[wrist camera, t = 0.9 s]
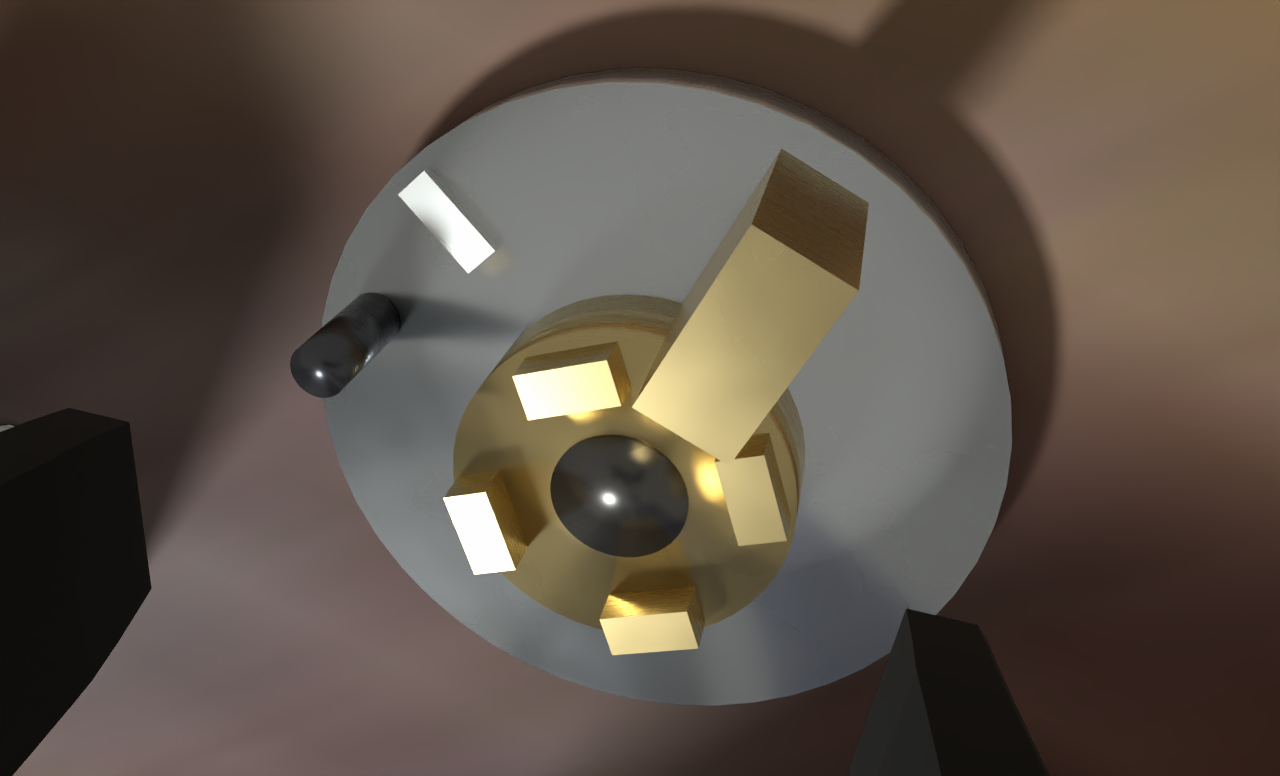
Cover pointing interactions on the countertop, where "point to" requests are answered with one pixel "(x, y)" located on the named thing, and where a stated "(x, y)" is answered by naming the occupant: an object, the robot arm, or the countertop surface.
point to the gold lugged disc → (662, 429)
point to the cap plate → (668, 268)
